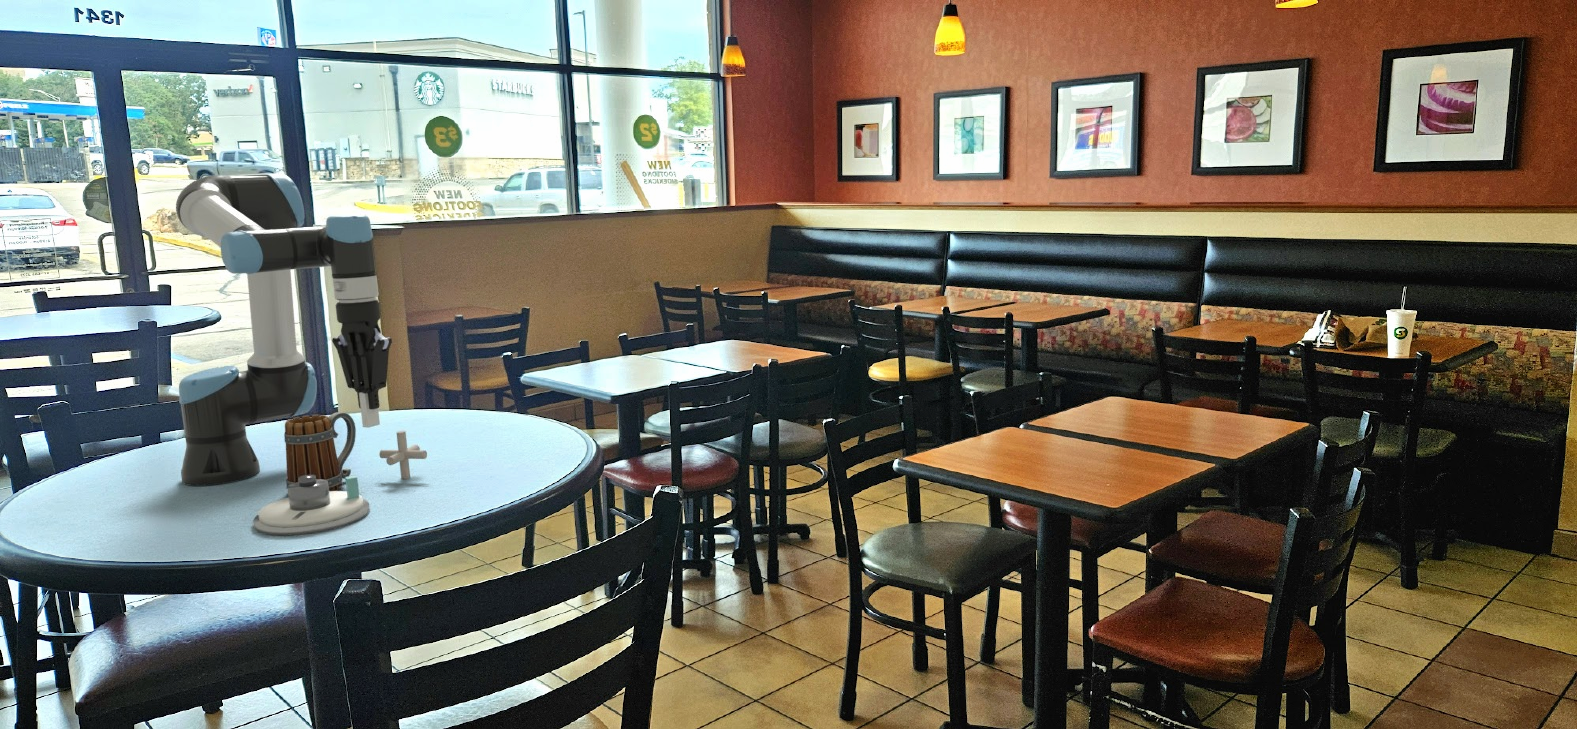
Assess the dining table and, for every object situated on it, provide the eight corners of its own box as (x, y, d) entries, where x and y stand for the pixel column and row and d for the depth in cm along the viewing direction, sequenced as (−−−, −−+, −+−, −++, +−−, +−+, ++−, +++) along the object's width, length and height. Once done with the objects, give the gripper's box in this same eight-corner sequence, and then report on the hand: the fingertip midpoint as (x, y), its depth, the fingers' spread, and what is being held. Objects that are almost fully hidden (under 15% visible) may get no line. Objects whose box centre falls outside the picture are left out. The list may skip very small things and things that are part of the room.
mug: (308, 500, 214) (299, 427, 211) (276, 494, 219) (267, 422, 217) (374, 480, 227) (367, 410, 224) (343, 474, 232) (335, 406, 230)
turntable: (237, 520, 198) (233, 493, 197) (318, 493, 214) (315, 468, 213) (305, 531, 190) (302, 503, 189) (384, 502, 206) (381, 476, 205)
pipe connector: (414, 485, 222) (409, 437, 220) (371, 484, 224) (365, 437, 222) (439, 471, 232) (434, 426, 230) (397, 470, 234) (392, 425, 232)
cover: (281, 508, 201) (278, 479, 200) (313, 497, 207) (310, 470, 206) (306, 512, 197) (302, 483, 196) (338, 502, 203) (335, 473, 202)
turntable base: (229, 528, 198) (228, 522, 198) (319, 497, 216) (318, 491, 215) (305, 541, 189) (304, 534, 189) (392, 508, 207) (392, 502, 207)
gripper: (315, 302, 196) (330, 428, 201) (366, 302, 191) (381, 432, 195) (348, 297, 203) (362, 419, 207) (399, 297, 197) (412, 423, 201)
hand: (371, 425), depth 201 cm, fingers closed
